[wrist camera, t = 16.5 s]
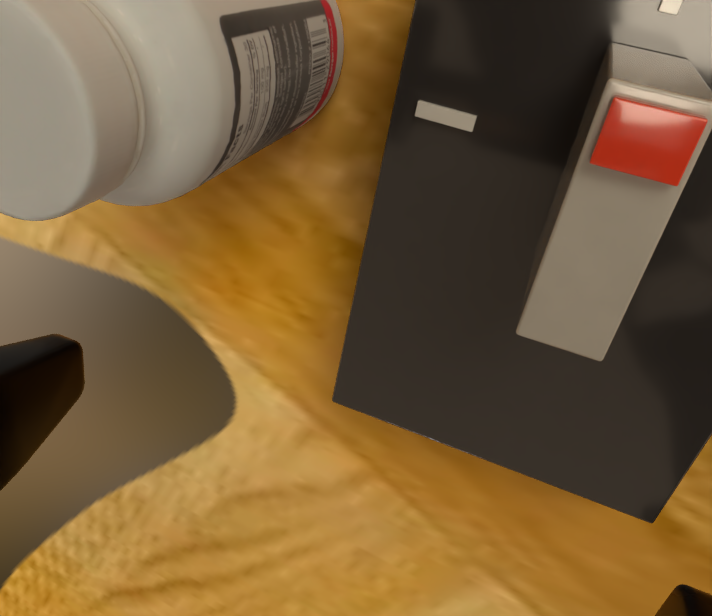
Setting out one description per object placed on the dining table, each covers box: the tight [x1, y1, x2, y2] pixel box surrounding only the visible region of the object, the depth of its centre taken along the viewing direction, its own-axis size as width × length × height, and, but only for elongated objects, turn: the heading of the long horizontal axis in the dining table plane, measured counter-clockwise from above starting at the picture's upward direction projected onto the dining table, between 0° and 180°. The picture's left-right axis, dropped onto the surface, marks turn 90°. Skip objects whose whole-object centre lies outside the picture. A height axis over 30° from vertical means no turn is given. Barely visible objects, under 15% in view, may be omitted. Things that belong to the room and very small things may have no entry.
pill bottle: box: [0, 0, 344, 221], centre depth 14 cm, size 5×5×10 cm
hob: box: [332, 0, 712, 523], centre depth 16 cm, size 14×10×3 cm
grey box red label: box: [516, 43, 712, 361], centre depth 12 cm, size 5×2×5 cm, turn 171°
